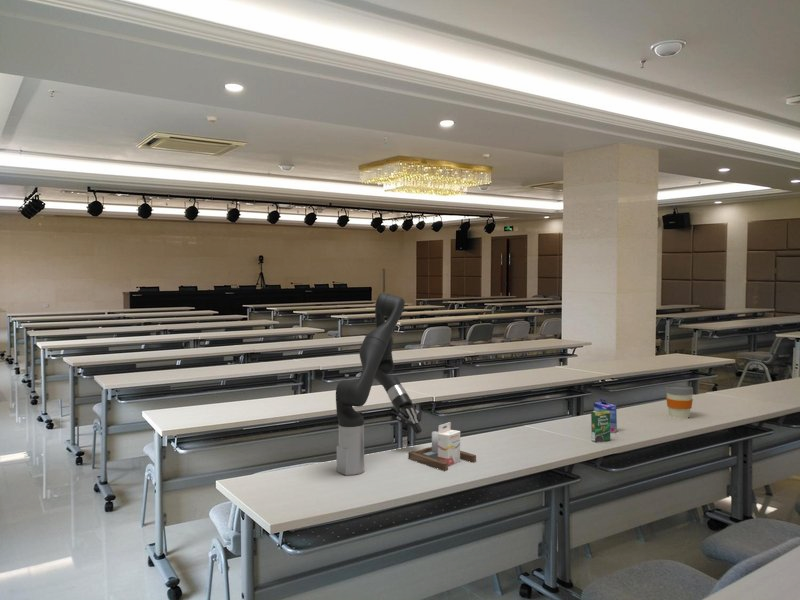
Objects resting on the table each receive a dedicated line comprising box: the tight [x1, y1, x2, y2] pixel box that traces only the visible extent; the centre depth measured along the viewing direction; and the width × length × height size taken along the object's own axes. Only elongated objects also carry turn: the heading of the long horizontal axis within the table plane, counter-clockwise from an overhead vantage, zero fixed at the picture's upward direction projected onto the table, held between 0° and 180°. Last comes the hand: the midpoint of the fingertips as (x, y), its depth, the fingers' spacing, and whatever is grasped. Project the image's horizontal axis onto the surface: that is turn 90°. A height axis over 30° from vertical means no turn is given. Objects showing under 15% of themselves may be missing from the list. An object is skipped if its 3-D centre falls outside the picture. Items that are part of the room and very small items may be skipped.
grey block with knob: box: [423, 430, 438, 460], centre depth 234 cm, size 12×4×10 cm, turn 130°
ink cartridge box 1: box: [437, 421, 461, 467], centre depth 228 cm, size 9×5×15 cm, turn 141°
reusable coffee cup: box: [665, 384, 694, 419], centre depth 300 cm, size 13×13×15 cm
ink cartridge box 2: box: [593, 398, 618, 434], centre depth 275 cm, size 10×6×14 cm, turn 21°
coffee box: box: [590, 410, 611, 443], centre depth 257 cm, size 8×3×13 cm, turn 108°
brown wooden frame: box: [407, 446, 477, 472], centre depth 232 cm, size 17×20×2 cm
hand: (419, 432), depth 242 cm, fingers closed
